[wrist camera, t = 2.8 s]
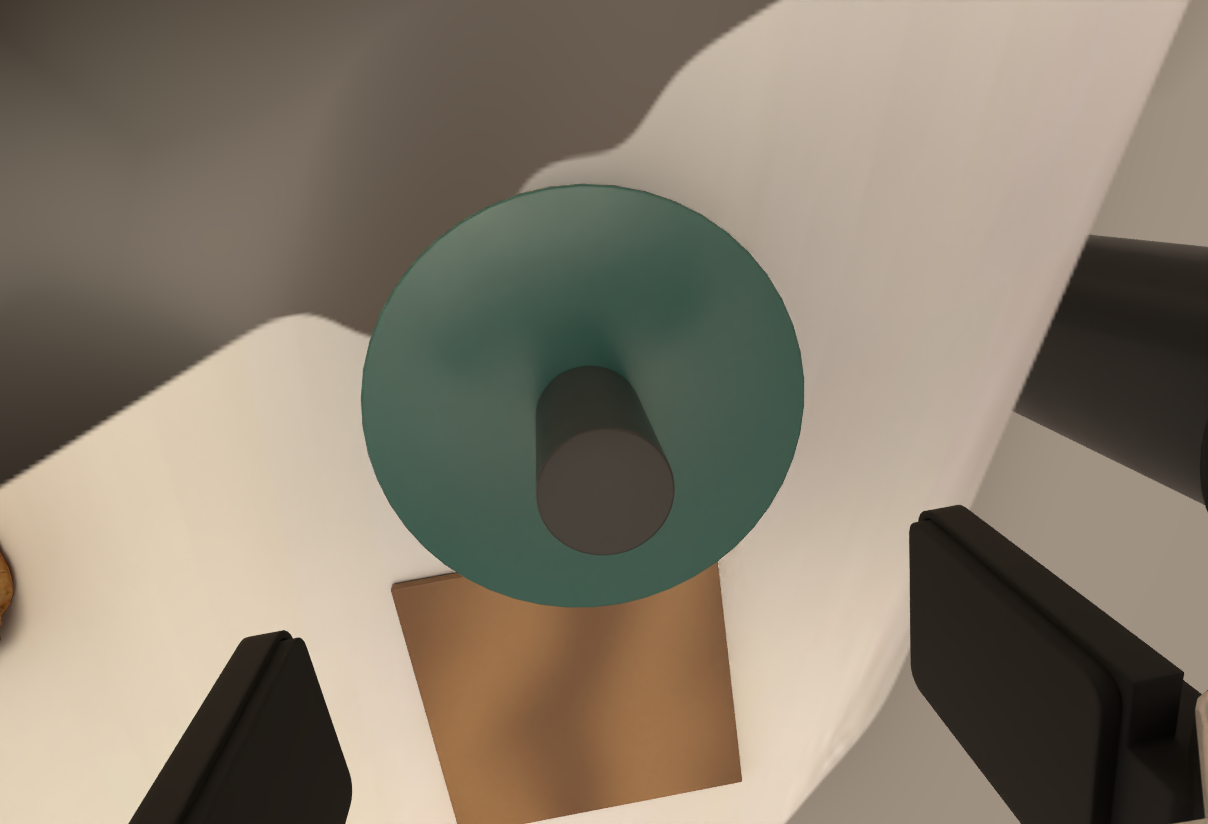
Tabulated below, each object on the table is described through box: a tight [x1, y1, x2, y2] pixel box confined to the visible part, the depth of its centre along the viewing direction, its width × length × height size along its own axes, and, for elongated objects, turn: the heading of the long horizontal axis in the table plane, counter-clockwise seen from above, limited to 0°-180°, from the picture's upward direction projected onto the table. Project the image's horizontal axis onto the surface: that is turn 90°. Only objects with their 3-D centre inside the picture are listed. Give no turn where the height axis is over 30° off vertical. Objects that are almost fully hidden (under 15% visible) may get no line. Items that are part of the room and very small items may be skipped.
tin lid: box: [361, 184, 804, 608], centre depth 20 cm, size 13×13×7 cm
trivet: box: [391, 561, 742, 824], centre depth 35 cm, size 15×15×1 cm
